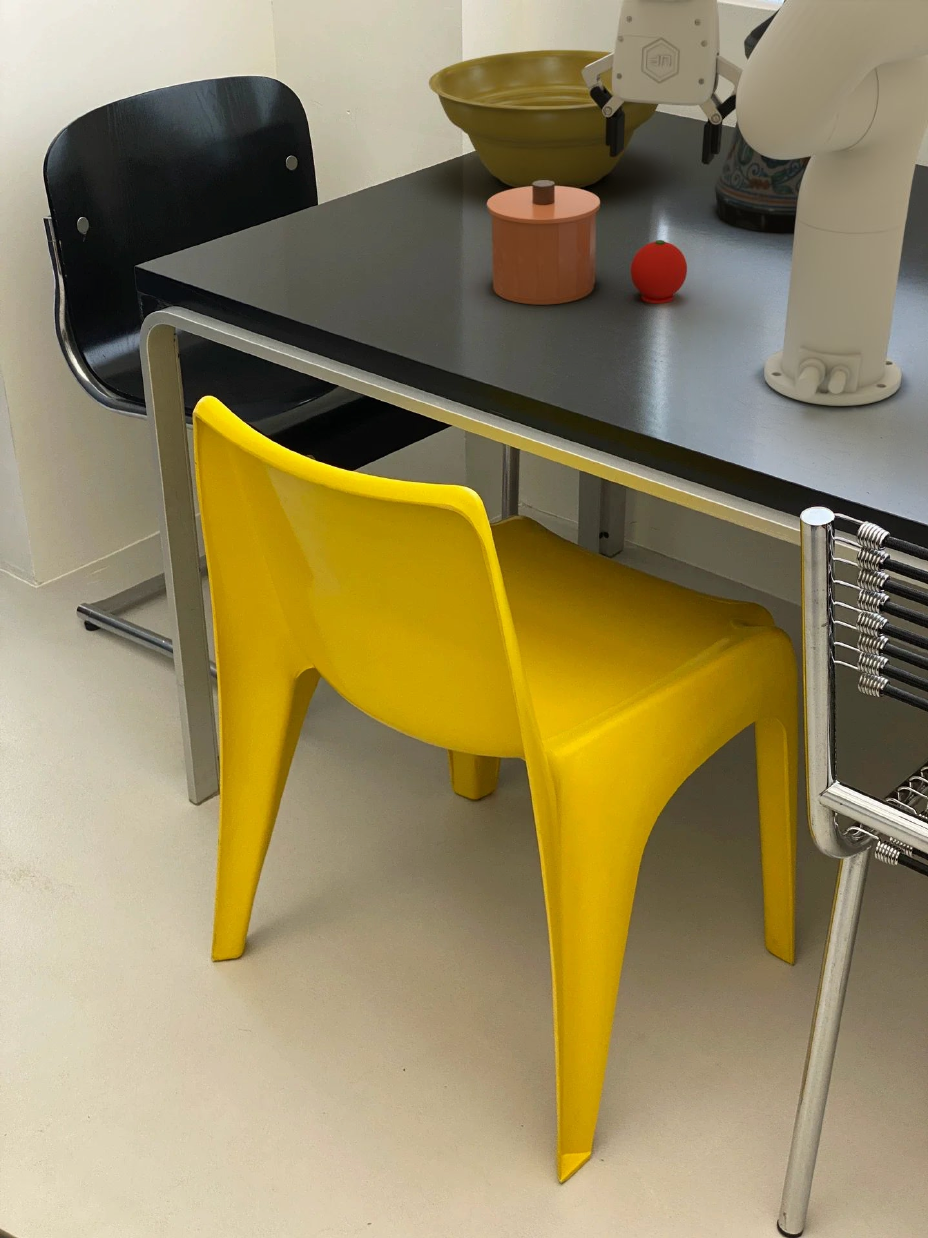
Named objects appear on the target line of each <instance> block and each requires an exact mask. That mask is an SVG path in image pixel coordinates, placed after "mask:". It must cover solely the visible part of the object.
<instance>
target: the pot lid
mask: <svg viewBox="0 0 928 1238" xmlns="http://www.w3.org/2000/svg"><path fill="white" fill-rule="evenodd" d="M600 207H601V200H600V198H599V196H597V195H596V194H595V193H593V192H590V191H588V190H585V189H581V188H572V187H564V186H555V183H554V182H553V181H549V180H539V181H535V182H533V183H532V186H529V187H521V188H516V187H514V188H510V189H506V190H504V191H500V192H498V193H495V194H494V195H492V196H491V197H490V198H488V200H487V202H486V209H487V212H488V213H489V214H490V215H491V214H492V215H494V216H496V217H498V218H501V219H504V220H508V221H512V222H519V223H530V224H552V223H563V222H569V221H575V220H579V219H582V218H585V217H588V216H590V215H592V214H594V213H596V214H597V212H598V211H599V210H600Z"/></svg>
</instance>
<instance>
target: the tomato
mask: <svg viewBox="0 0 928 1238" xmlns="http://www.w3.org/2000/svg"><path fill="white" fill-rule="evenodd" d="M687 274H688V264H687V260H686V258H685V255H684V253H683V252H682V251H681V249H680V248H678V246H676V245H674V244H672V243H670V242H667V241H665V240H663V239H657V240H655V241H652V242H650V243H647V244H645V245H644V246H642V247H641V248H640V249H639V250H638V251H637V252H636V254H635V255H634V257H633V259H632V261H631V266H630V277H631V281H632V283H633V286H634V287H635V289H637V291H638V292H639V293H640V294H641V299H642V300H643V301H644V302H646V303H651V304H666V303H670V302H671V301H672V302H673V300H674V294H676V293H677V292H678V291H680V290H681V288H682V287H683V285H684V283H685V281H686V279H687Z"/></svg>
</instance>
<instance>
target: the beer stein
mask: <svg viewBox="0 0 928 1238" xmlns="http://www.w3.org/2000/svg"><path fill="white" fill-rule="evenodd" d="M785 1H786V0H784V1H783V3H782V5H783V4H784V2H785ZM782 5H781V6H780V7H779V8H778V9H777V10H776V11H775V12H774V13H773V14H771V16H770V17H768V18H766V19H765V20H764V21H763V22H761V23H760V24H759V25H757V26H756V27H754V29H752V30H751V31H750V33H749V34H747V36H746V37H745V39H744V41H743V47H744V48H743V49H744V55H745V57H746V59H747V61H748V59H749V57H750V55H751V53H752V52H753V50H754V48H755V47H756V45H757V44H758V42H759V40H760V39H761V37H762V36H763V34H764V33H765V31H766V30H767V28H768V27H769V25H770V24H771V22H772V21H773V19H774V18H775V16H776V15H777V13H778V11H779V10H780V8H781V7H782ZM810 158H811V156H809V157H804V158H798V159H790V160H779V159H773V158H769V157H766V156H763V155H761V154H760V153H758V152H757V151H755V150H754V149H753V148H752V147H750V146H749V144H748V143H747V142H746V141H745V139H744V138H743V136H742V134H741V132H740V129H739V126H738V122H737V121H736V122H735V126H734V131H733V134H732V137H731V142H730V146H729V149H728V152H727V156H726V158H725V161H724V164H723V166H722V169H721V171H720V173H719V175H718V176H717V178H716V180H715V184H714V192H715V199H716V206H717V213H718V218H720V219H721V220H723V221H725V222H726V223H729V224H730V225H732V226H734V227H739V228H743V229H747V230H751V231H756V232H765V233H778V234H779V233H780V234H784V233H785V234H786V233H787V234H788V233H789V234H790V233H794V232H795V222H796V212H797V202H798V195H799V190H800V186H801V182H802V179H803V175H804V173H805V170H806V167H807V165H808V163H809V161H810Z"/></svg>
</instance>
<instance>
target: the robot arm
mask: <svg viewBox="0 0 928 1238" xmlns="http://www.w3.org/2000/svg"><path fill="white" fill-rule="evenodd" d="M783 3H784V4H783ZM783 3H782V5H781V6H782V7H781V6H780V7H781V8H780V7H779V8H780V10H779V11H778V13H777V15H776V16H775V18H774V19H773V21H772V22H771V24H770V25H769V27H768V28H767V30H766V31H765V33H764V34H763V36H762V37H761V39H760V40H759V42H758V44H757V45H756V47H755V48H754V50H753V52H752V53H751V55H750V57H749V59H748V60H747V61H746V63H745V65H744V67H743V69H742V68H741V67H739V66H738V65H736V64H734V63H733V62H731V61H730V60H728V59H727V58H724V57H723V56H722V55H721V53H720V52H721V51H720V50H721V49H720V41H721V40H720V18H719V17H720V16H719V5H718V0H621V2H620V7H619V11H618V19H617V26H616V32H615V40H614V49H613V53H612V54H610V55H608V56H606V57H604V58H602V59H600V60H598V61H595V62H593V63H591V64H589V65H587V66H586V67H585V68H584V69H583V70H582V72H581V73H582V76H583V79H584V81H585V83H586V85H587V88H588V89H589V91H590V96H591V98H592V99H593V100H594V101H595V102H596V104H597V105H598V106H599V107H600V108H601V109H602V113H603V115H604V116H605V117H606V140H605V143H606V146H610V157H616V156H618V155H619V154H620V152H621V151H622V150H623V149H624V131H625V113H624V111H623V110H622V107H621V106H622V105H623V104H624V102H625V101H628V102H637V103H651V104H658V105H667V106H668V105H669V106H683V107H684V106H685V107H687V106H688V107H693V106H695V107H696V106H699V107H700V109H701V110H702V111H703V113H704V114H705V116H706V118H707V121H706V122H705V124H704V126H703V134H702V135H703V136H702V149H701V151H702V152H701V163H702V164H703V165H710V164H711V162H712V161H713V159H714V158H715V155H719V154H720V153H721V148H722V134H723V120H725V119H726V118H728V116H729V115H730V114H731V113H733V112H734V111H735V117H736V122H738V126H739V129H740V132H741V134H742V136H743V138H744V139H745V141H746V142H747V143H748V144H749V146H750V147H752V148H753V149H754V150H755V151H757V152H758V153H760V154H761V155H763V156H766V157H769V158H773V159H779V160H790V159H798V158H804V157H809V156H811V158H810V161H809V163H808V165H807V167H806V170H805V173H804V175H803V179H802V182H801V186H800V190H799V195H798V202H797V212H796V222H795V232H793V233H794V234H793V244H792V245H793V246H792V252H791V253H792V255H791V264H790V274H789V275H790V276H789V285H788V295H787V296H788V297H787V303H786V305H787V306H786V314H785V315H786V316H785V327H784V337H783V347H782V349H781V350H778V351H777V352H775V353H774V354H772V355H770V357H768V359H766V361H765V363H764V367H763V368H764V369H763V378H764V381H765V382H766V383H767V385H768V386H770V388H772V389H773V390H775V391H776V392H777V393H779V394H782V395H783V396H785V397H788V398H790V399H793V400H797V401H800V402H804V403H809V404H814V405H822V406H834V407H835V406H836V407H847V406H860V405H868V404H871V403H876V402H879V401H882V400H884V399H887V398H889V397H890V396H893V394H895V393H896V392H897V391H898V390H899V389H900V386H901V382H902V370H901V368H900V367H899V365H898V364H897V363H896V362H895V361H894V360H893V359H891V358H890V357H888V349H889V342H890V336H891V330H892V322H893V315H894V309H895V300H896V294H897V287H898V286H897V285H898V280H899V279H898V278H899V273H900V272H899V271H900V266H901V265H900V264H901V258H902V251H903V243H904V236H905V229H906V222H907V218H908V210H909V204H910V198H911V192H912V191H911V190H912V186H913V179H914V174H915V170H916V164H917V161H918V156H919V152H920V149H921V146H922V142H923V139H924V136H925V134H926V130H927V127H928V0H786V1H785V2H784V1H783ZM611 68H613V69H612V92H613V94H614V95H613V96H612V95H611V94H610V92H609V91H608V90H607V89H606V88H605V86H604V85H602V83H601V79H600V74H601V73H603V72H605V71H607V70H609V69H611ZM720 76H721V77H723V78H724V79H726V80H728V81H729V82H730V83H732V84H733V87H734V88H733V90H732V92H731V94H730V96H728V97H727V98H726V99H724V101H722V100H721V99H720V97H719V96H718V94H717V93H716V91H717V89H718V86H719V78H720Z"/></svg>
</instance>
